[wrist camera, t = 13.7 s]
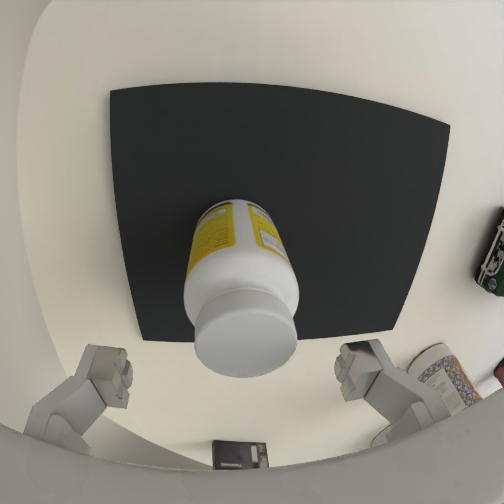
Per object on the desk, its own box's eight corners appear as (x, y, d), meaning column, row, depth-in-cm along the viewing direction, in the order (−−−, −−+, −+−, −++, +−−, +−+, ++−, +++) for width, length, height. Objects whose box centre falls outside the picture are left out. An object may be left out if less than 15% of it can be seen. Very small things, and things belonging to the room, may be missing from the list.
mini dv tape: (265, 443, 37) (270, 475, 31) (262, 446, 37) (266, 477, 32) (214, 440, 35) (215, 474, 30) (212, 443, 35) (213, 476, 30)
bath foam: (447, 357, 31) (506, 460, 14) (409, 382, 33) (459, 492, 15) (446, 333, 28) (519, 452, 11) (403, 363, 30) (465, 492, 12)
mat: (144, 335, 23) (143, 340, 23) (113, 91, 14) (109, 90, 13) (390, 326, 26) (392, 329, 25) (445, 124, 16) (450, 125, 16)
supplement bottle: (192, 267, 20) (176, 383, 11) (198, 193, 17) (172, 284, 9) (267, 274, 20) (295, 387, 12) (282, 203, 18) (334, 296, 9)
